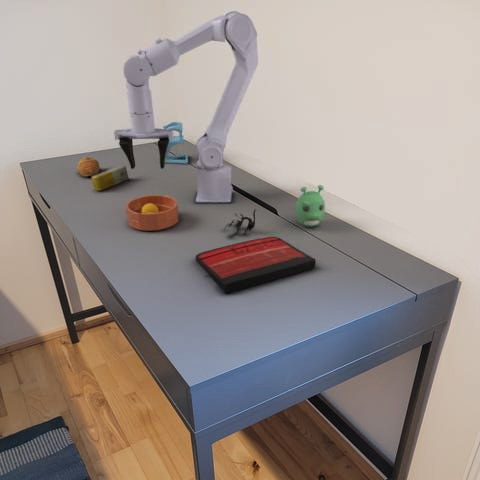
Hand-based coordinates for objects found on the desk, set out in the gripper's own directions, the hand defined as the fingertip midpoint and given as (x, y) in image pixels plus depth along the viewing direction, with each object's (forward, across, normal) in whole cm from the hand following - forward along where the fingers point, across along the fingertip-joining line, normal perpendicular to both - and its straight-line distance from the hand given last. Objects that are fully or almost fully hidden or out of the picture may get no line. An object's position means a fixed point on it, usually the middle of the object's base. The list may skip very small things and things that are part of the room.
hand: (147, 167), depth 125 cm
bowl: (+9, +2, -13) cm, 16 cm away
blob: (+9, +2, -13) cm, 16 cm away
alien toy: (+10, +41, -16) cm, 45 cm away
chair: (+10, +2, +36) cm, 37 cm away
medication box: (+10, -14, +13) cm, 21 cm away
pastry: (+8, -23, +24) cm, 34 cm away
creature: (+10, +24, -19) cm, 32 cm away
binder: (+10, +27, -35) cm, 45 cm away
